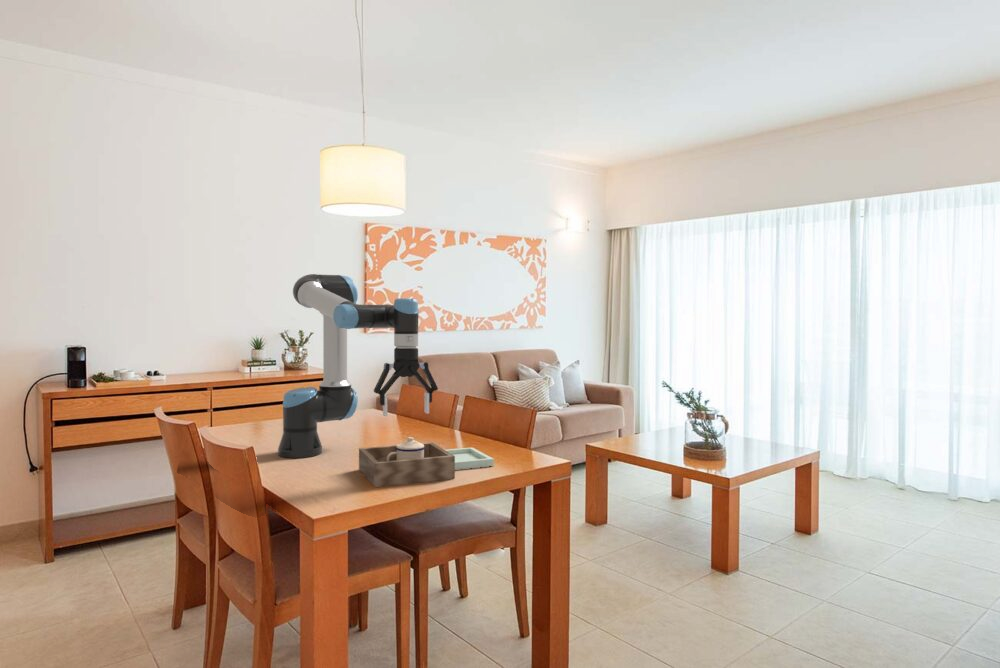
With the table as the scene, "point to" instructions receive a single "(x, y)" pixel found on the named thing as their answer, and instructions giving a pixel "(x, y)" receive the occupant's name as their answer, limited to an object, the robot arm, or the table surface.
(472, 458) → the tray
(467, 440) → the table surface
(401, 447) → the teacup with lid
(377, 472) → the deep box
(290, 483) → the table surface
